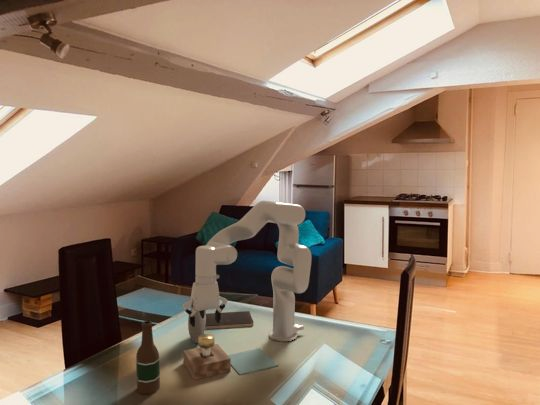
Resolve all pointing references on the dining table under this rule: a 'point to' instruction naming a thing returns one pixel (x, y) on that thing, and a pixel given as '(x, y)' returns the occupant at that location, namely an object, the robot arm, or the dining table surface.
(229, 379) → the dining table surface
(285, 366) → the dining table surface
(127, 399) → the dining table surface
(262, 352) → the mat
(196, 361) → the block
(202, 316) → the planter
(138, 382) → the beer bottle
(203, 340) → the pin
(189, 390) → the dining table surface
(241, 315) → the hardcover book
